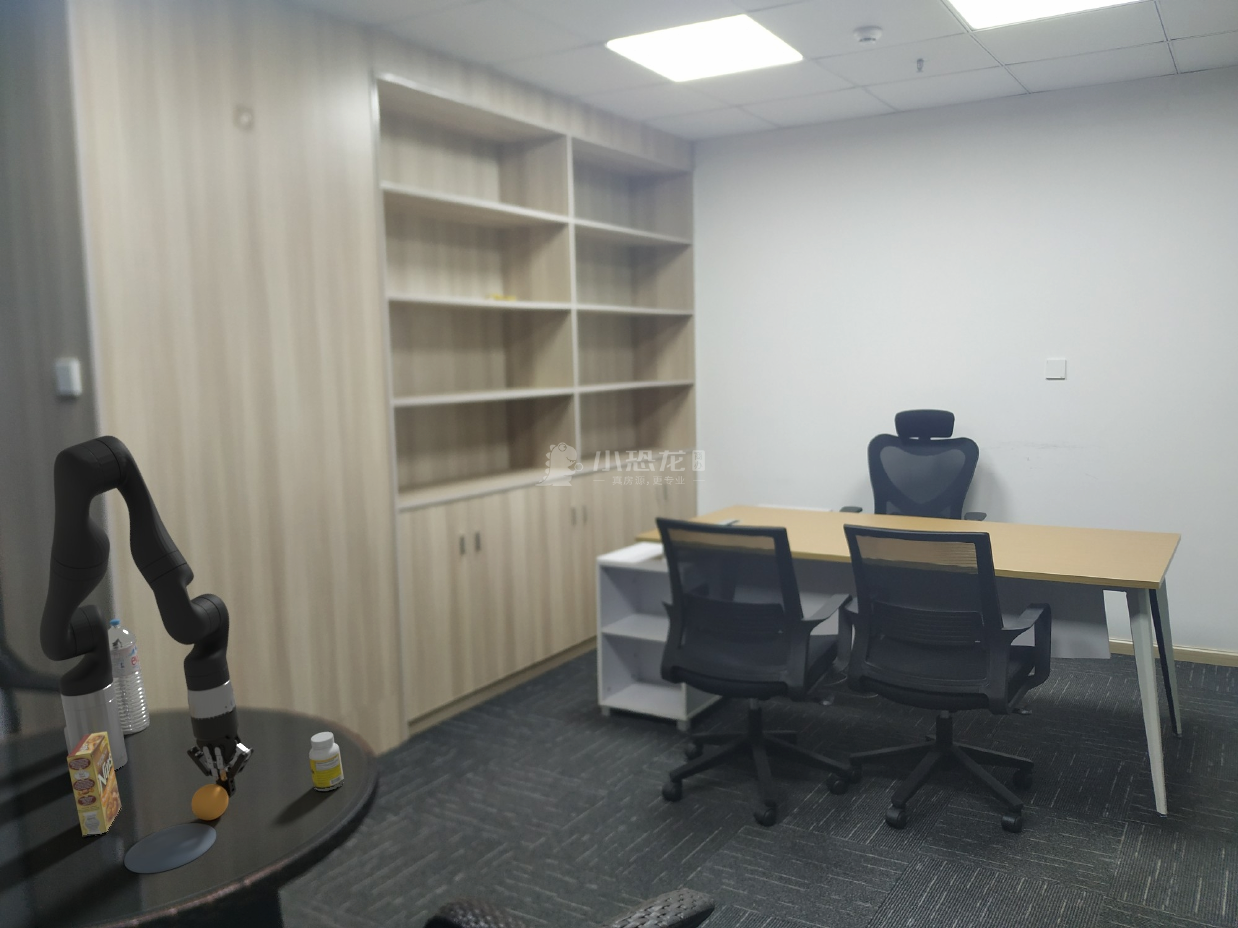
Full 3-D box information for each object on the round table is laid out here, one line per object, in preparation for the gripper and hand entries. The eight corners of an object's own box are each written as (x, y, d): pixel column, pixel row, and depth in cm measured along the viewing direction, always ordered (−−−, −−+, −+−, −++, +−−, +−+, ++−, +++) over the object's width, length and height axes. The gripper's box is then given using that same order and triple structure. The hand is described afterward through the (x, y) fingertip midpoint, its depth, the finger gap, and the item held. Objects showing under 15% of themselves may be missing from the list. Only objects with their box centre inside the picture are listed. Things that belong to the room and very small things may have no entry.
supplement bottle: (317, 779, 174) (310, 731, 172) (346, 776, 174) (340, 728, 172) (310, 794, 168) (303, 744, 167) (340, 791, 169) (334, 741, 167)
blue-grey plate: (104, 867, 150) (104, 866, 150) (169, 820, 163) (169, 819, 163) (173, 877, 146) (173, 876, 146) (234, 828, 159) (234, 827, 159)
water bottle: (136, 736, 199) (116, 625, 194) (108, 735, 200) (88, 625, 196) (157, 721, 205) (139, 614, 201) (131, 721, 207) (112, 614, 202)
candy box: (107, 834, 160) (92, 752, 157) (81, 838, 159) (65, 756, 157) (122, 808, 169) (108, 730, 166) (97, 812, 168) (82, 734, 165)
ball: (205, 811, 166) (182, 821, 160) (208, 778, 166) (185, 786, 160) (234, 816, 164) (211, 826, 159) (237, 782, 165) (215, 791, 159)
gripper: (166, 714, 162) (182, 804, 165) (229, 718, 158) (245, 810, 161) (196, 696, 169) (211, 783, 172) (257, 699, 165) (272, 788, 168)
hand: (227, 796), depth 166 cm, fingers closed
